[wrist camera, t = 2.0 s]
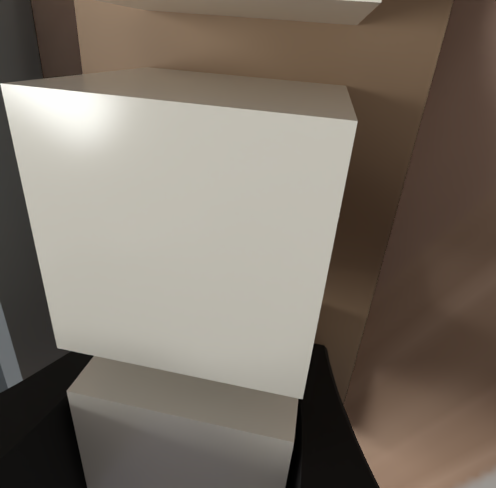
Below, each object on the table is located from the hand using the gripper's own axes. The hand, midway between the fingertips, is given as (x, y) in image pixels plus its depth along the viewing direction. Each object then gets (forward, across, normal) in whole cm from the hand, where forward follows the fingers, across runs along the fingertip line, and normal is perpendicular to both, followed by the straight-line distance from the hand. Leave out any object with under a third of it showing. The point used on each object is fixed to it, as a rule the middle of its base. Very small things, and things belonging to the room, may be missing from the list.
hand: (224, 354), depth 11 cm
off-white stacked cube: (0, 0, -5) cm, 5 cm away
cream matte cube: (0, 0, 0) cm, 0 cm away
